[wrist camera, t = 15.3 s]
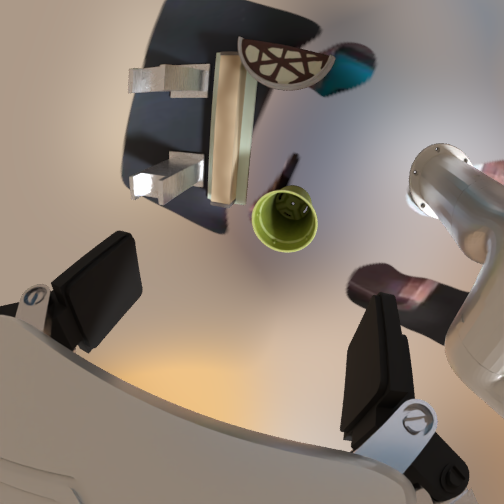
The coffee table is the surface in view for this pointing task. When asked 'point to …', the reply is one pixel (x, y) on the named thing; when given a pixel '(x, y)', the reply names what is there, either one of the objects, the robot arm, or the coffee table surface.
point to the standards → (179, 163)
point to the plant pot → (285, 219)
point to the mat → (245, 134)
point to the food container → (283, 64)
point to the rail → (227, 129)
